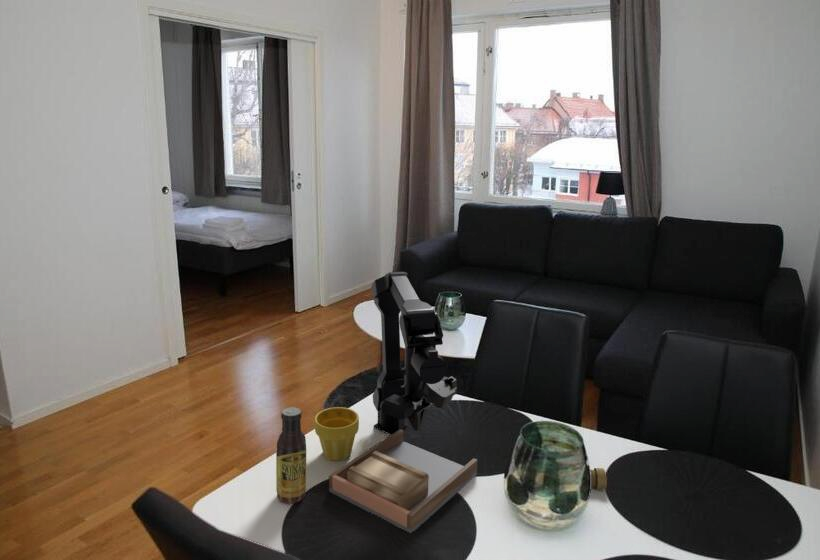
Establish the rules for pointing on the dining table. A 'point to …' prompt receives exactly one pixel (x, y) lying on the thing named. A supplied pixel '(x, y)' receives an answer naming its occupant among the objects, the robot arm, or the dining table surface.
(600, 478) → the gavel
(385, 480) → the brown wooden box
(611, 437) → the dining table surface
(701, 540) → the dining table surface
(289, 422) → the sauce bottle
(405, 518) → the bay
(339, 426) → the plant pot
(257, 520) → the dining table surface
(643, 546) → the dining table surface
